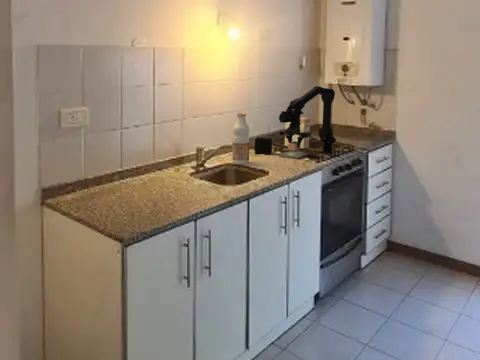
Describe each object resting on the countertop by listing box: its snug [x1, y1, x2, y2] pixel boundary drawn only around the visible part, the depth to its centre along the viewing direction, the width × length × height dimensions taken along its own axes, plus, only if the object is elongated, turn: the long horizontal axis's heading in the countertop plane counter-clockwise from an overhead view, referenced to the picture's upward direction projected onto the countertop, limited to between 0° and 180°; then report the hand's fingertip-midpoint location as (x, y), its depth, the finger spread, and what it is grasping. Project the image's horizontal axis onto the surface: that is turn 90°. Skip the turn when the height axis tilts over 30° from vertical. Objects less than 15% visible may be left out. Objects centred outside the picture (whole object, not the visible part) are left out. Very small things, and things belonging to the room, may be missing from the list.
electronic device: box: [254, 136, 273, 156], centre depth 325 cm, size 4×10×10 cm, turn 78°
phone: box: [287, 141, 301, 152], centre depth 321 cm, size 8×4×4 cm, turn 149°
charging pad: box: [278, 150, 309, 160], centre depth 322 cm, size 15×12×1 cm
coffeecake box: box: [284, 116, 311, 149], centre depth 350 cm, size 15×7×20 cm, turn 51°
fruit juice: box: [231, 112, 250, 165], centre depth 297 cm, size 9×9×28 cm
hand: (294, 147), depth 321 cm, fingers closed on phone, 4 cm apart
